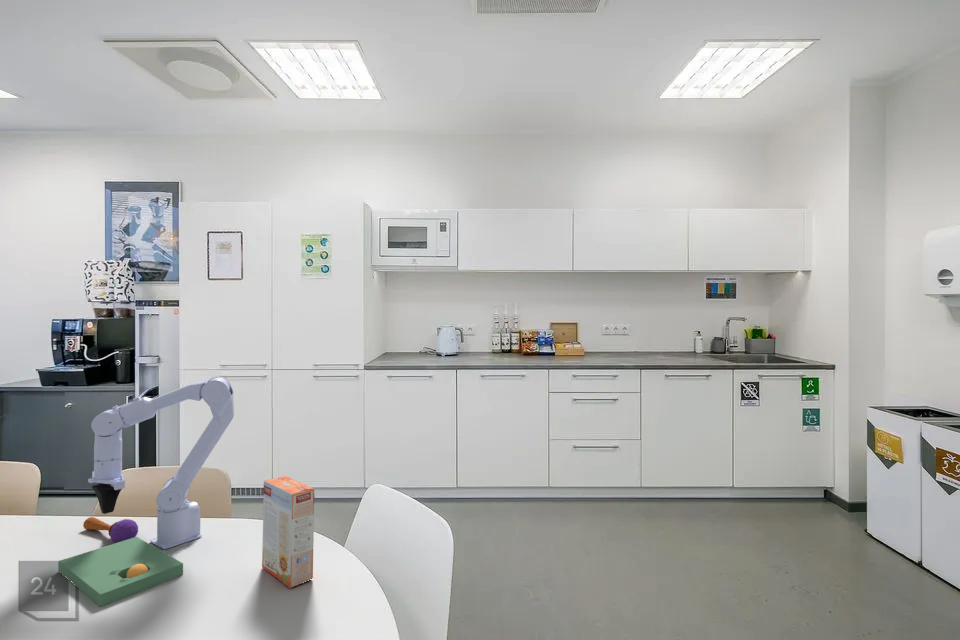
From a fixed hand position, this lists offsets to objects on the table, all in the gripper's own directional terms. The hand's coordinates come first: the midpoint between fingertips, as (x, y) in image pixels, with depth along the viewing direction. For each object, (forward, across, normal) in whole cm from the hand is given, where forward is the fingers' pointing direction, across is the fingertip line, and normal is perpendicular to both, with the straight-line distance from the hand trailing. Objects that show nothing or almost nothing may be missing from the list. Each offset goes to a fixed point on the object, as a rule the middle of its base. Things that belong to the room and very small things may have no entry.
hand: (107, 512), depth 127 cm
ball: (+7, +24, -3) cm, 25 cm away
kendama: (+10, -8, +4) cm, 14 cm away
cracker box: (+10, +47, +19) cm, 52 cm away
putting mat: (+9, +16, -3) cm, 19 cm away
